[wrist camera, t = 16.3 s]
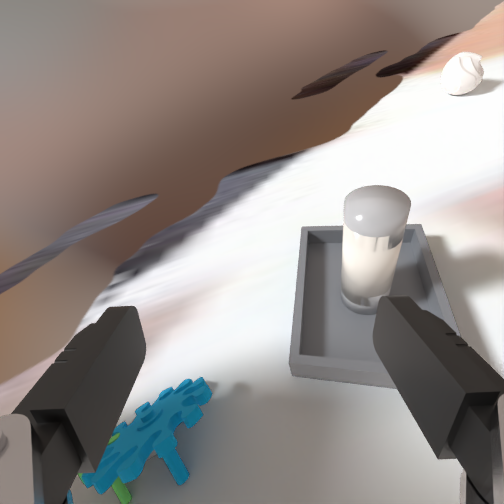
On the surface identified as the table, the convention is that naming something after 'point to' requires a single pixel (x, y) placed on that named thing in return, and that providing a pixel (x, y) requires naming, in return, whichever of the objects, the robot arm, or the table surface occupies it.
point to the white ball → (462, 73)
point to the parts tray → (344, 320)
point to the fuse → (371, 244)
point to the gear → (149, 439)
